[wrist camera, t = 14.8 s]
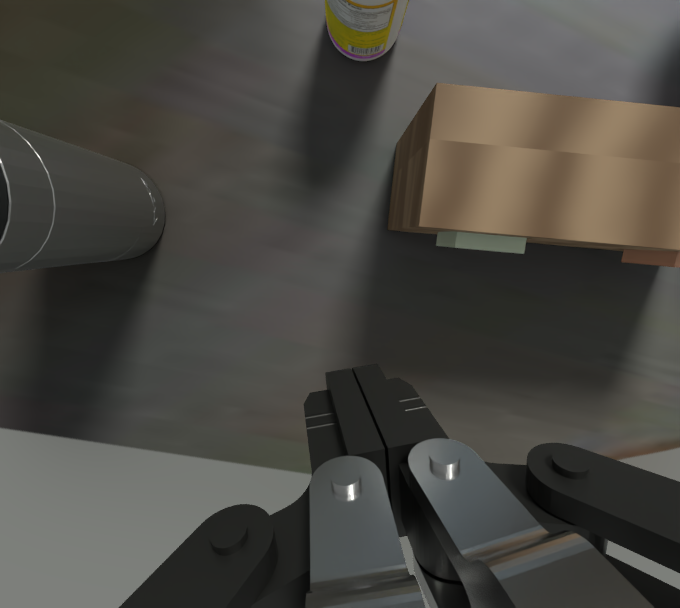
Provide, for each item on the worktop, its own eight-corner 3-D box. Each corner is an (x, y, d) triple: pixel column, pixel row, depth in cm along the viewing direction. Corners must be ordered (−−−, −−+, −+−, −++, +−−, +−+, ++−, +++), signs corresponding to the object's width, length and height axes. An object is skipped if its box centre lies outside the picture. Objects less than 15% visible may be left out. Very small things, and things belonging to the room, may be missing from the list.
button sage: (435, 245, 31) (454, 247, 26) (444, 184, 30) (465, 174, 25) (494, 251, 31) (524, 253, 26) (504, 189, 30) (537, 180, 25)
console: (387, 229, 36) (418, 226, 22) (396, 143, 35) (436, 82, 21) (664, 254, 37) (860, 266, 23) (684, 171, 35) (907, 130, 21)
